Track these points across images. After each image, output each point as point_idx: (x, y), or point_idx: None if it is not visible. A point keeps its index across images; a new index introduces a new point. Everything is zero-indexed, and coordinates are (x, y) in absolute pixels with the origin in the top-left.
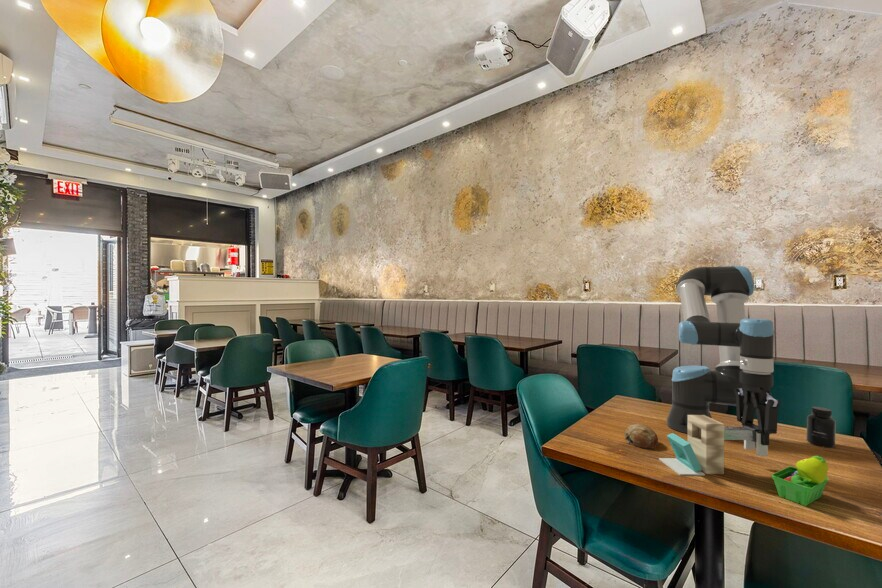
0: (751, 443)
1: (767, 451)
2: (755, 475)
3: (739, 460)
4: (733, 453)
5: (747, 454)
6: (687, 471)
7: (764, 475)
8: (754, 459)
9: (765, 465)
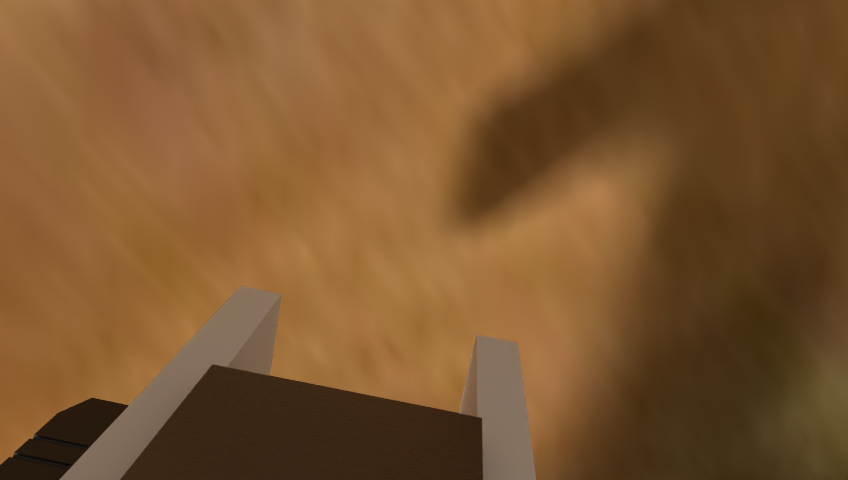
0: None
1: (518, 379)
2: (541, 465)
3: (201, 288)
4: (9, 169)
5: (40, 10)
6: None
7: (562, 379)
8: (189, 74)
9: (357, 111)
